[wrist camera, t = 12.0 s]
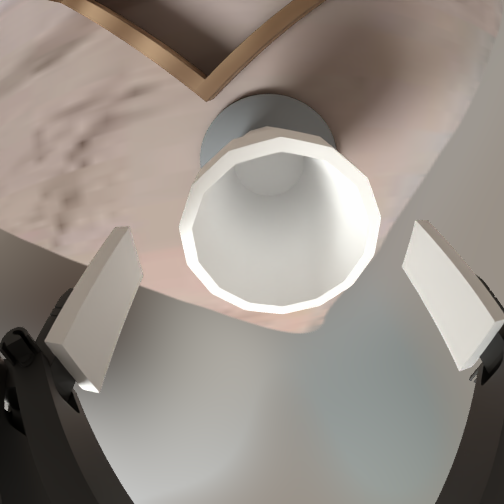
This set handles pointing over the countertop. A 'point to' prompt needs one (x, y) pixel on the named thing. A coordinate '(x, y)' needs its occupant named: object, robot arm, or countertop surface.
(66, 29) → the countertop surface
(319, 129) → the rubber mat
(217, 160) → the foam cup
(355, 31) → the countertop surface
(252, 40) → the frame
